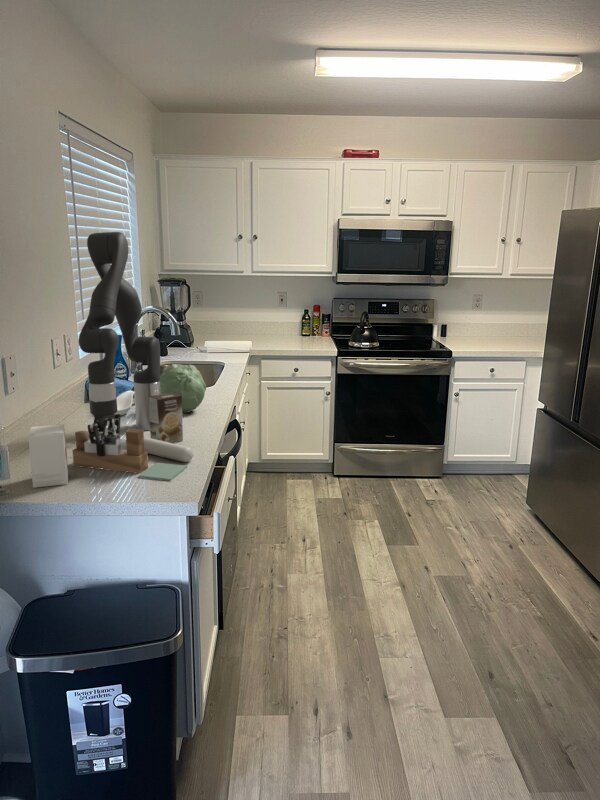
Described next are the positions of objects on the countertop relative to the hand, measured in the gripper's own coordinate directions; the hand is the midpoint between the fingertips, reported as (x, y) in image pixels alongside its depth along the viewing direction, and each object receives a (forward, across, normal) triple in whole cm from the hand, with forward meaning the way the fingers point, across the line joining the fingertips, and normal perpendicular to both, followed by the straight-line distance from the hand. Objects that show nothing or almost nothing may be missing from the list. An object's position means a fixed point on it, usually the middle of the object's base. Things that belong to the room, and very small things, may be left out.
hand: (106, 452), depth 172 cm
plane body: (+4, 0, +1) cm, 5 cm away
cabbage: (+5, -64, -5) cm, 64 cm away
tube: (+2, -11, +10) cm, 15 cm away
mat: (+4, 0, +18) cm, 19 cm away
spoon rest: (+5, -60, -29) cm, 67 cm away
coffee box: (+5, -27, +6) cm, 28 cm away
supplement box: (+5, +14, -9) cm, 17 cm away
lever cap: (-1, 0, 0) cm, 1 cm away
